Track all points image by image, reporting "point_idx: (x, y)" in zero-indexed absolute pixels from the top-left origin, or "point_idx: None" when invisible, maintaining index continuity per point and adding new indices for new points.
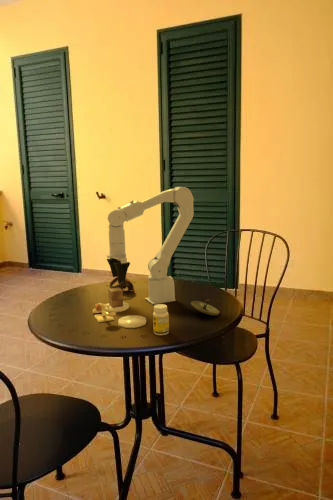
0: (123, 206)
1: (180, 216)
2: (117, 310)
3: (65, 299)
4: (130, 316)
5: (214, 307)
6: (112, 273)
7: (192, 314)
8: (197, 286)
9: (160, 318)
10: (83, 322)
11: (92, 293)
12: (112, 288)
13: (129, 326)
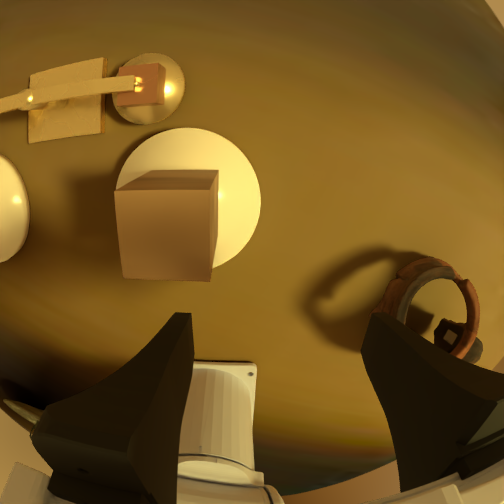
0: None
1: None
2: (118, 187)
3: (470, 42)
4: (13, 216)
5: None
6: (388, 327)
7: (40, 390)
8: (290, 484)
9: None
10: (73, 11)
11: (488, 185)
12: (204, 226)
13: None
